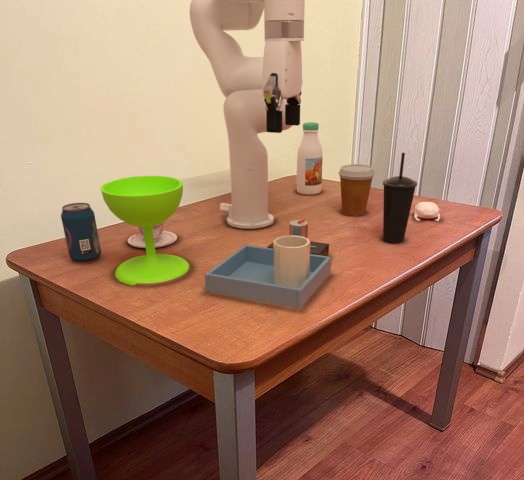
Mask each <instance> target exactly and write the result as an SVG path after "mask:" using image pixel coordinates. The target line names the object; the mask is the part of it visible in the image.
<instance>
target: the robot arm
mask: <svg viewBox="0 0 524 480" xmlns="http://www.w3.org/2000/svg"><path fill="white" fill-rule="evenodd" d="M305 3H306V1H305V0H191V1H190V3H189V20H190V24H191V29H192V32H193V36H194V38H195V40H196V42H197V44H198V46H199V48H200V49H201V51H202V52H203V53H204V55H205V56H206V58H207V59H208V61H209V63H210V65H211V68H212V72H213V74H214V77H215V80H216V83H217V85H218V87H219V90H220V91H221V93H222V95H223V96H224V98H225V99H224V102H223V108H222V110H223V117H224V122H225V123H224V124H225V127H226V131H227V134H226V135H227V140H228V141H227V142H228V154H229V155H228V156H229V172H230V173H229V174H230V176H229V177H230V194H231V203H227V202H220V204H219V212H220V213H226V214H228V216H227V217H226V224H227V225H228V226H230V227H232V228H235V229H241V230H242V229H243V230H256V229H262V228H267V227H270V226H272V225H273V224H274V223H275V216H274V215H273V214H271V213H270V212H269V161H268V159H269V155H268V150H267V147H266V146H265V145H264V143H263V142H262V141H261V139H260V138H259V136H258V134H262V133H263V134H264V133H272V134H281V133H282V132H283V131H287V130H289V129H291V128H292V127H293V126H297V127H298V126H300V125H301V103H302V99H301V95H302V87H303V86H302V85H303V57H302V56H303V55H302V42H304V40H305ZM262 16H263V20H264V21H263V22H264V25H263V26H264V50H263V56H246V55H245V54H244V53H243V49H242V47H241V45H240V44H239V42H238V41H237V40H236V39H235V38H234V37H232V36H231V35H230V34H229V33H228V32H226V31H250V30H253V29H255V28H256V27H257V26H258V25H259V23H260V21H261V19H262Z"/></svg>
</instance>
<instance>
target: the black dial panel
mask: <svg viewBox="0 0 524 480" xmlns="http://www.w3.org/2000/svg"><path fill="white" fill-rule="evenodd" d="M309 241H310V254H314V255H321V256H329V254H330V253H329V252H330V243H326V242H320V241H311V240H309ZM266 248H272V249H273V242H271V243H270V244H268V245H267V246H266Z"/></svg>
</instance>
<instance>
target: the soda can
mask: <svg viewBox="0 0 524 480" xmlns="http://www.w3.org/2000/svg"><path fill="white" fill-rule="evenodd" d="M61 209H62V211H61V214H60V218H61V219H60V220H61V223H62V228H63V233H64V238H65V242H66V247H67V252H68V256H69V258H70V259H71V261H73V263H75V264H81V265H83V264H84V265H85V264H91V263H95V262H97V261H98V260H99V259H100V256H101V254H102V249H101V244H100V243H101V242H100V236H99V232H98V226H97V221H96V216H95V215H96V214H95V211H94V210H93V209H92V207H91V205H90V204H89V203H87V202H73V203H68V204H65V205H63V206H62V207H61Z"/></svg>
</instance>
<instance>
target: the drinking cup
mask: <svg viewBox="0 0 524 480" xmlns="http://www.w3.org/2000/svg"><path fill="white" fill-rule="evenodd" d="M405 156H406V153H405V152H402V153H401V157H400V165H399V175H396V176H395V175H394V176H392V177H389V178H387V179H384V180H383V181H382V185H383V208H382V209H383V210H382V211H383V213H382V214H383V215H382V216H383V217H382V218H383V220H382V222H383V223H382V240H383V242H385V243H388V244H401V243H403V242H404V240H405V236H406V233H407V227H408V224H409V223H408V222H409V218H410V214H411V209H412V206H413V205H412V204H413V200H414V196H415V191H416V187H417V186H418V182H417V181H416V180H414V179H412V178H410V177H408V176H404V175H403V173H404V166H405V165H404V164H405Z"/></svg>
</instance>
